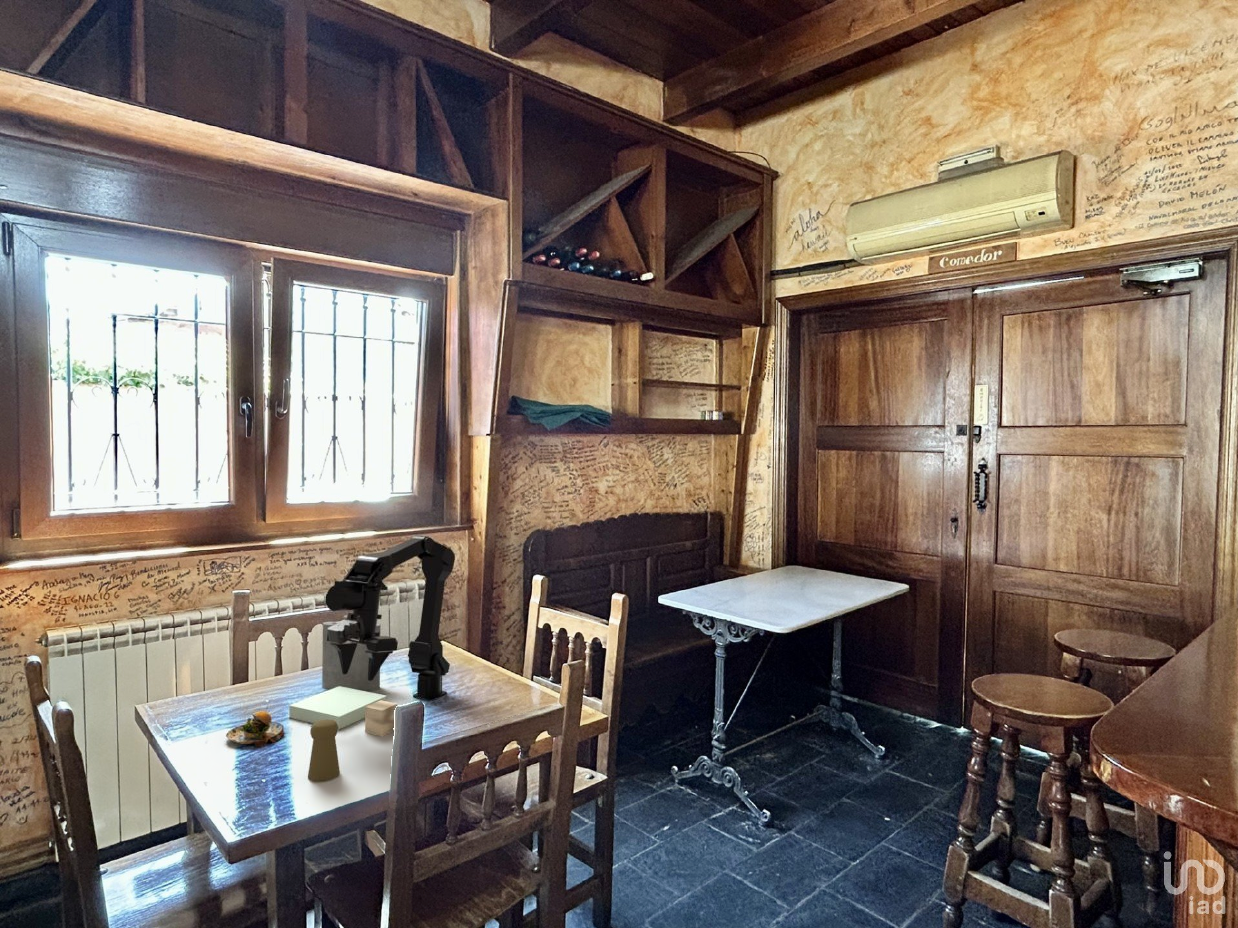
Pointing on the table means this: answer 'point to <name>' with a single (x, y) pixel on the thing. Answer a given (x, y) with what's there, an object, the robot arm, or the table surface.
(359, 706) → the plinth
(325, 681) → the hip flask
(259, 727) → the burger
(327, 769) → the cork
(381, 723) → the birch block
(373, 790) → the table surface
